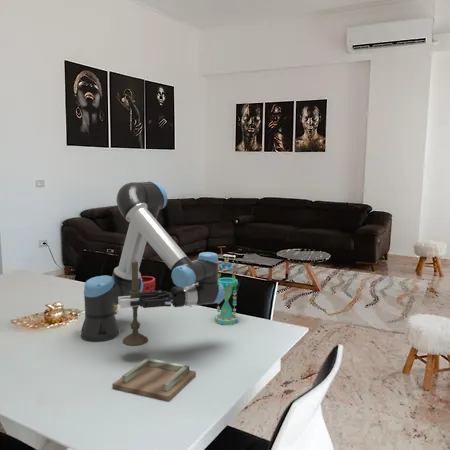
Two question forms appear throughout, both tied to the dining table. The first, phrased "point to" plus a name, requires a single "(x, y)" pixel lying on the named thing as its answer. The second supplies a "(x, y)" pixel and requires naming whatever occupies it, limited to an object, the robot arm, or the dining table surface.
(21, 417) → the dining table surface
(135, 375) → the railed board
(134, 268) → the candlestick holder
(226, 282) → the decorative hourglass
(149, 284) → the plant pot
